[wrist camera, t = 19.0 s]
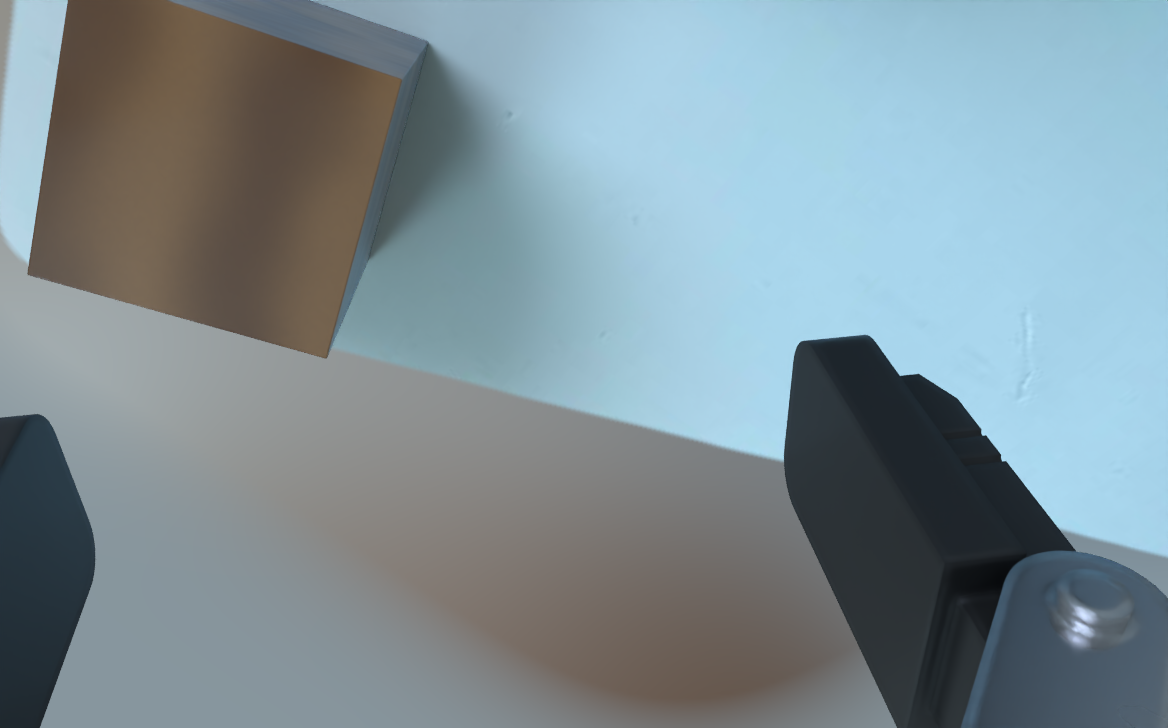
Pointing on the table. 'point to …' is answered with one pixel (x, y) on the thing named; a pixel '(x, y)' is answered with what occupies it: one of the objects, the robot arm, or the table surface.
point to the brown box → (222, 159)
